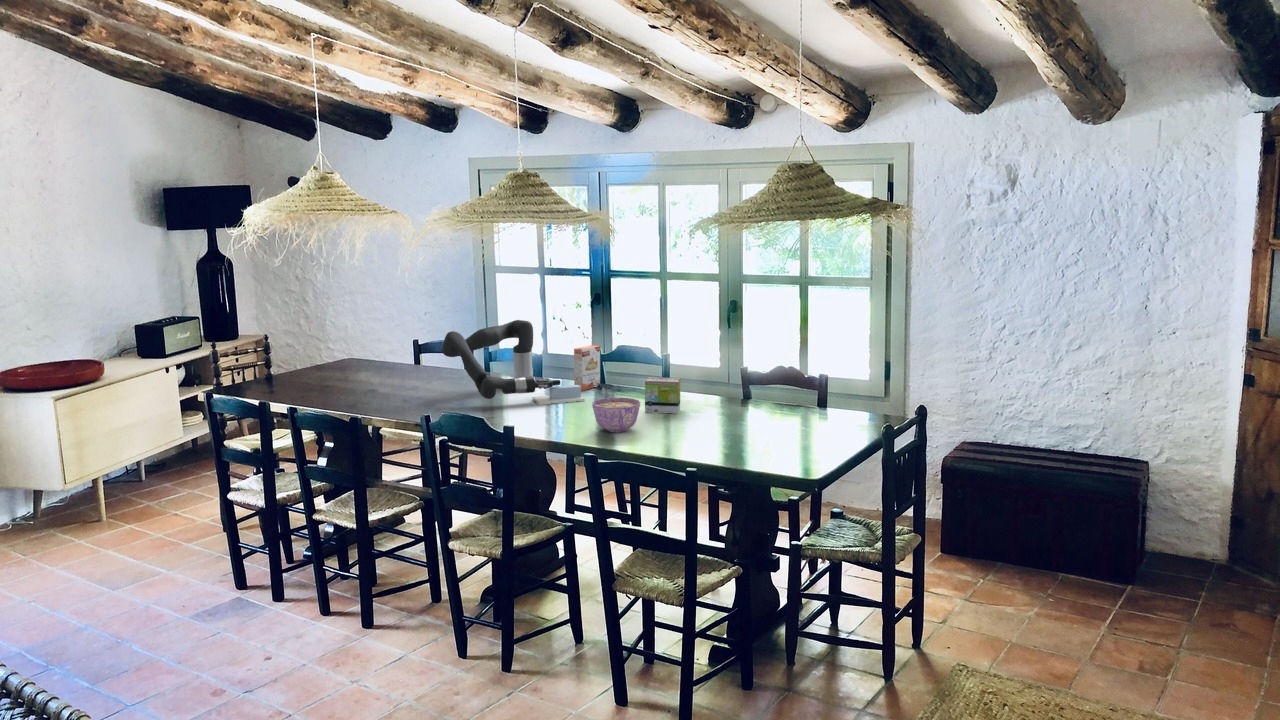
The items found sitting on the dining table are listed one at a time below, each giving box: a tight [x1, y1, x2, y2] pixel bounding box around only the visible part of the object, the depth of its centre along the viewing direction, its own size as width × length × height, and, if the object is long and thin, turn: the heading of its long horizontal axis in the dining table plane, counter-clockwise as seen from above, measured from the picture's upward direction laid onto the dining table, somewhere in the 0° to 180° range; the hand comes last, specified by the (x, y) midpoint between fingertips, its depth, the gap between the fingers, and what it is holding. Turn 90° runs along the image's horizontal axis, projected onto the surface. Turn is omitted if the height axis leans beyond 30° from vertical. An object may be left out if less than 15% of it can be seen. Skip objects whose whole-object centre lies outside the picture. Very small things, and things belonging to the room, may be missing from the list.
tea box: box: [644, 376, 681, 414], centre depth 439 cm, size 15×10×15 cm, turn 82°
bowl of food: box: [591, 397, 641, 433], centre depth 406 cm, size 20×20×12 cm
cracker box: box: [573, 345, 601, 392], centre depth 491 cm, size 14×6×21 cm, turn 143°
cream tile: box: [531, 395, 586, 405], centre depth 466 cm, size 13×22×1 cm, turn 110°
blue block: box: [548, 384, 582, 399], centre depth 466 cm, size 5×5×14 cm
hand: (560, 382), depth 465 cm, fingers closed
